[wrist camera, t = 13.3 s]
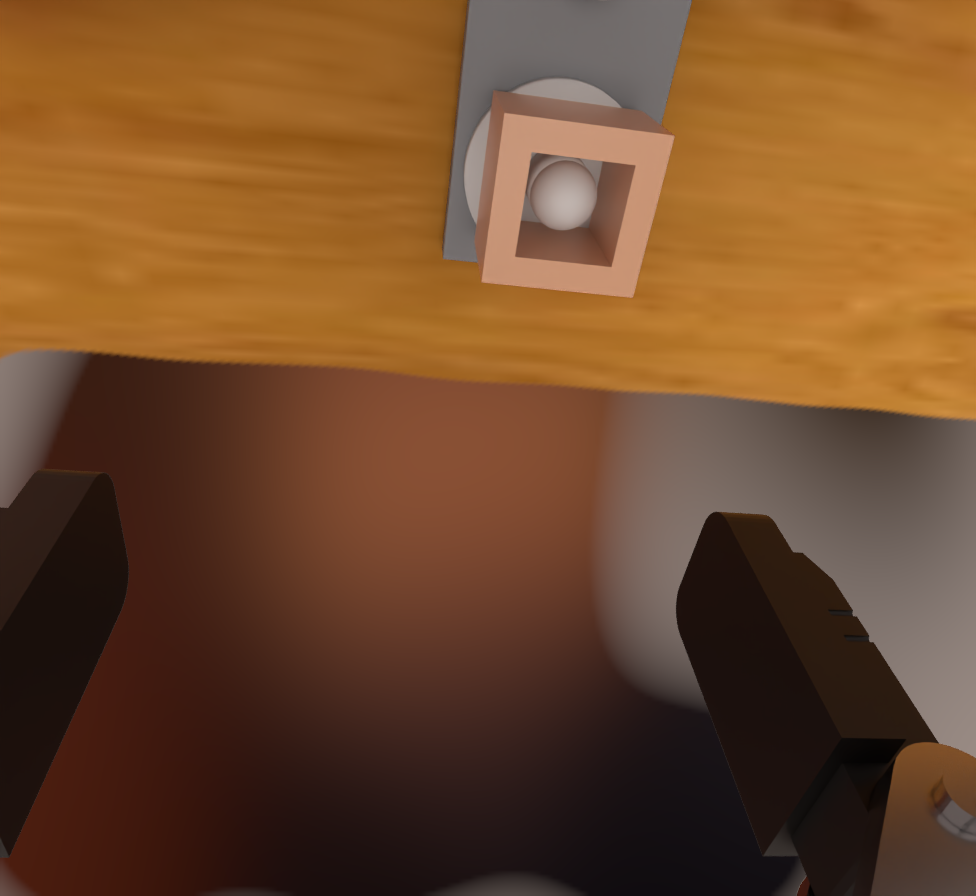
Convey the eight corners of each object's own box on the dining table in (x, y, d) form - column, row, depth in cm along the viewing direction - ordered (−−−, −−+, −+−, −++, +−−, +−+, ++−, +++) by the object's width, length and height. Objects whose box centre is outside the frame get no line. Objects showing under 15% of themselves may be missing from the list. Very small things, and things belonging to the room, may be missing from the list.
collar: (493, 90, 30) (504, 112, 26) (641, 110, 31) (675, 135, 27) (474, 241, 34) (481, 282, 30) (607, 256, 35) (632, 297, 31)
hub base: (488, -200, 27) (503, -235, 22) (718, -155, 28) (785, -178, 23) (442, 248, 36) (445, 299, 31) (616, 266, 38) (647, 319, 32)
